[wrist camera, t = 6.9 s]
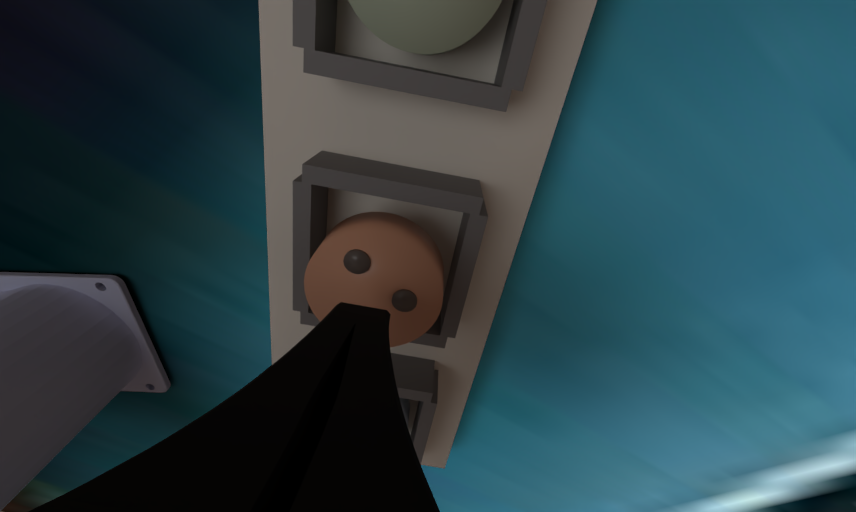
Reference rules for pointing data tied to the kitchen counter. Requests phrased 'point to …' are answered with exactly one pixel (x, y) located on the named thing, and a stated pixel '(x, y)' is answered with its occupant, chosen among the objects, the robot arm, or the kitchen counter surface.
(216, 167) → the kitchen counter surface
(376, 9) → the one pip button
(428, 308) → the three pip button
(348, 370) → the robot arm
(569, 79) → the button panel
